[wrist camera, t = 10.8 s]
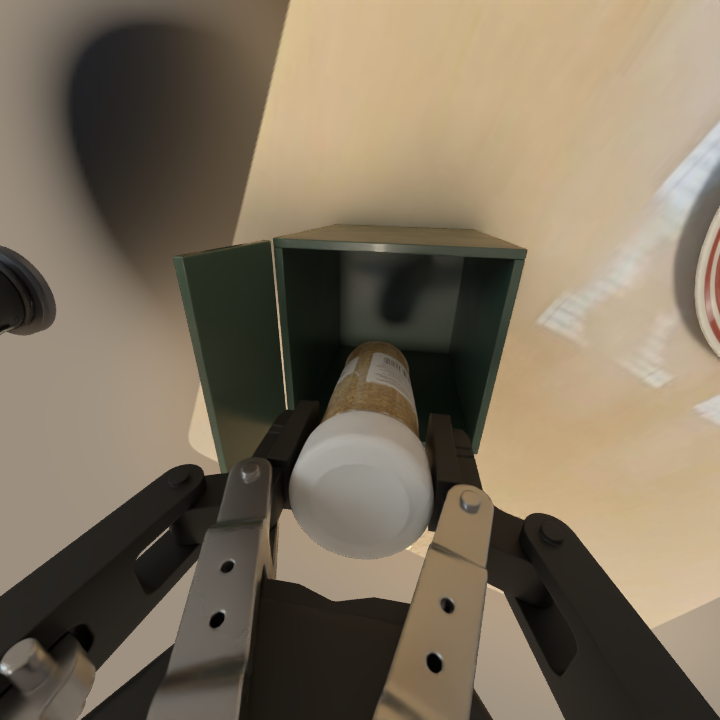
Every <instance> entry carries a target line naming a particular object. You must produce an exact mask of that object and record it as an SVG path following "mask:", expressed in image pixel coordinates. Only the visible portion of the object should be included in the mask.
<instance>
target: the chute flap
mask: <svg viewBox="0 0 720 720" xmlns="http://www.w3.org/2000/svg"><path fill="white" fill-rule="evenodd" d="M173 260H174V264H175V269H176V273H177V277H178V282H179V287H180V291H181V296H182V300H183V304H184V309H185V314H186V318H187V323H188V327H189V331H190V336H191V340H192V345H193V349H194V354H195V358H196V363H197V367H198V371H199V376H200V381H201V385H202V390H203V394H204V399H205V403H206V408H207V412H208V417H209V421H210V426H211V430H212V435H213V439H214V444H215V448H216V453H217V457H218V462H219V466H220V470H221V474H222V473H228V472H230V470H231V468H232V467H233V466H234V465H235V464H237V463H238V462H240V461H242V460H244V459H246V458H250V457H252V455H253V454H254V452H255V451H256V449H257V447H258V446H259V444H260V443H261V441H262V440H263V438H264V436H265V435H266V433H268V430H269V429H270V427H271V426H272V424H273V422H274V421H275V419H276V418H277V416H278V415H280V414H281V413H283V412H284V411H285V410H286V405H285V395H284V384H283V373H282V362H281V351H280V340H279V329H278V318H277V307H276V296H275V285H274V274H273V263H272V252H271V241H270V240H262V241H256V242H250V243H245V244H239V245H234V246H229V247H223V248H217V249H211V250H206V251H200V252H195V253H189V254H184V255H178V256H174V257H173Z"/></svg>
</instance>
